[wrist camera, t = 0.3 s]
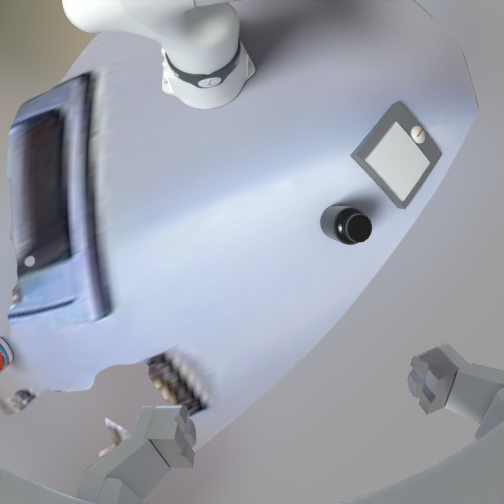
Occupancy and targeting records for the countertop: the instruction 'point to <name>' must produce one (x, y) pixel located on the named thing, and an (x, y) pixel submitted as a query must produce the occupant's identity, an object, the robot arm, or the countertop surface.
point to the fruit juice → (5, 355)
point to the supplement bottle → (346, 224)
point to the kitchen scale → (398, 155)
